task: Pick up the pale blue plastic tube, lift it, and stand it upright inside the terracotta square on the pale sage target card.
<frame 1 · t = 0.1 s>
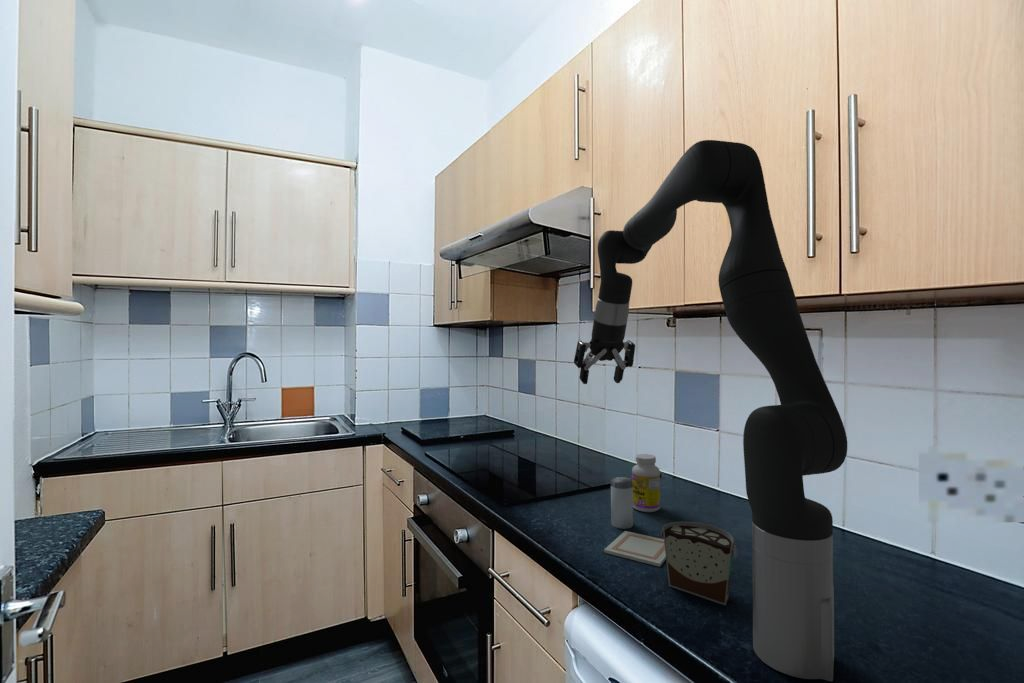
hand: (600, 382, 119), 31 cm above the counter, tool tilted 20°, fingers open, 8 cm apart
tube: (622, 524, 111), on the counter
target card: (641, 548, 98), on the counter
supplement bottle: (646, 509, 121), on the counter
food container: (703, 589, 83), on the counter
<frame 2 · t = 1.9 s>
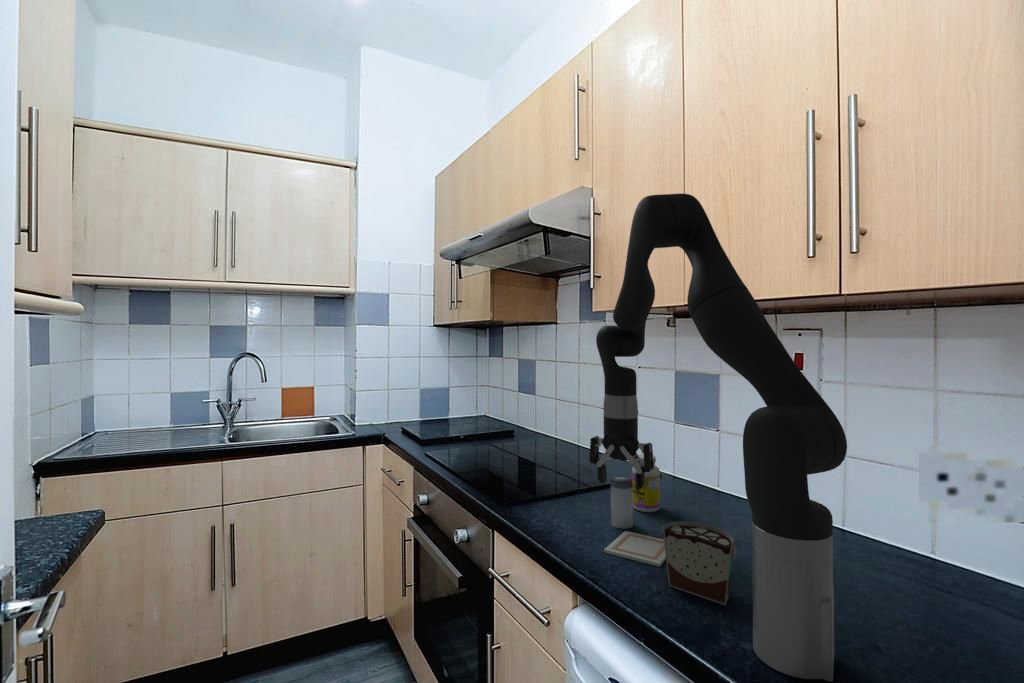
hand: (620, 486, 111), 9 cm above the counter, tool pointing down, fingers open, 8 cm apart
nothing on the counter moved.
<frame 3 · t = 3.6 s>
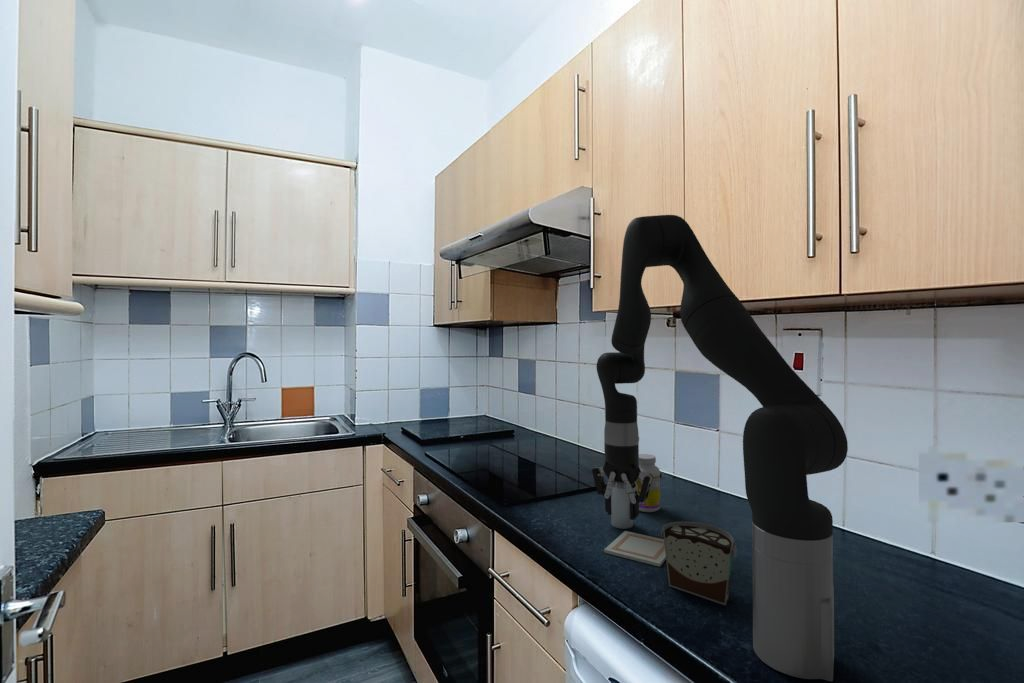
hand: (622, 516, 111), 2 cm above the counter, tool pointing down, fingers closed on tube, 4 cm apart
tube: (622, 524, 111), on the counter, touching gripper
everything else where it was.
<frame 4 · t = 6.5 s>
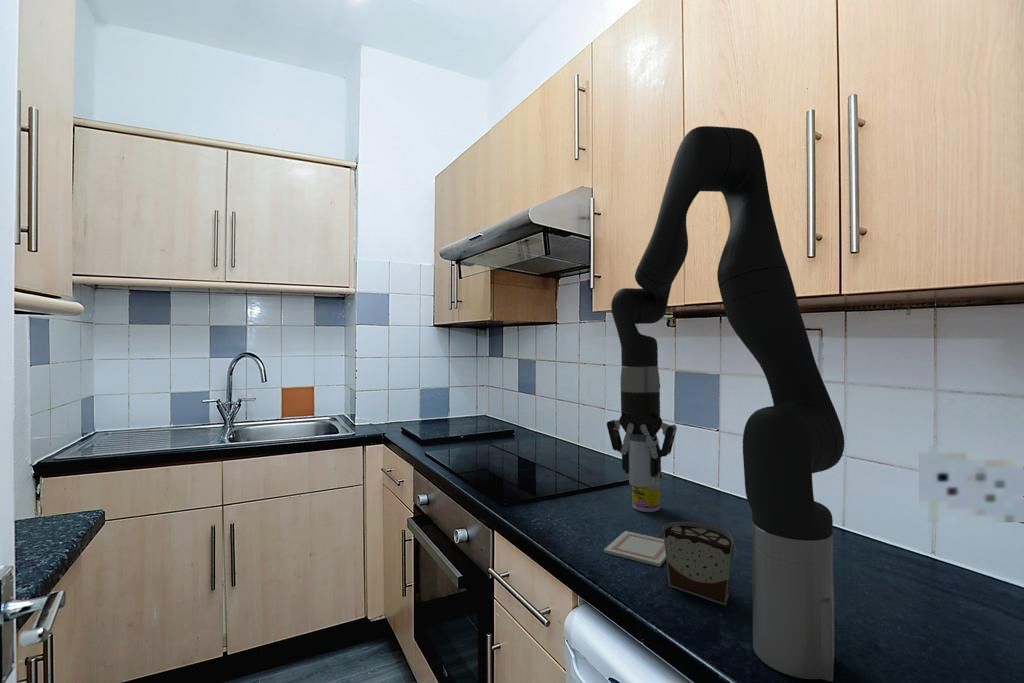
hand: (641, 474, 98), 15 cm above the counter, tool pointing down, fingers closed on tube, 4 cm apart
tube: (641, 483, 98), point 13 cm above the counter, touching gripper
everything else where it was.
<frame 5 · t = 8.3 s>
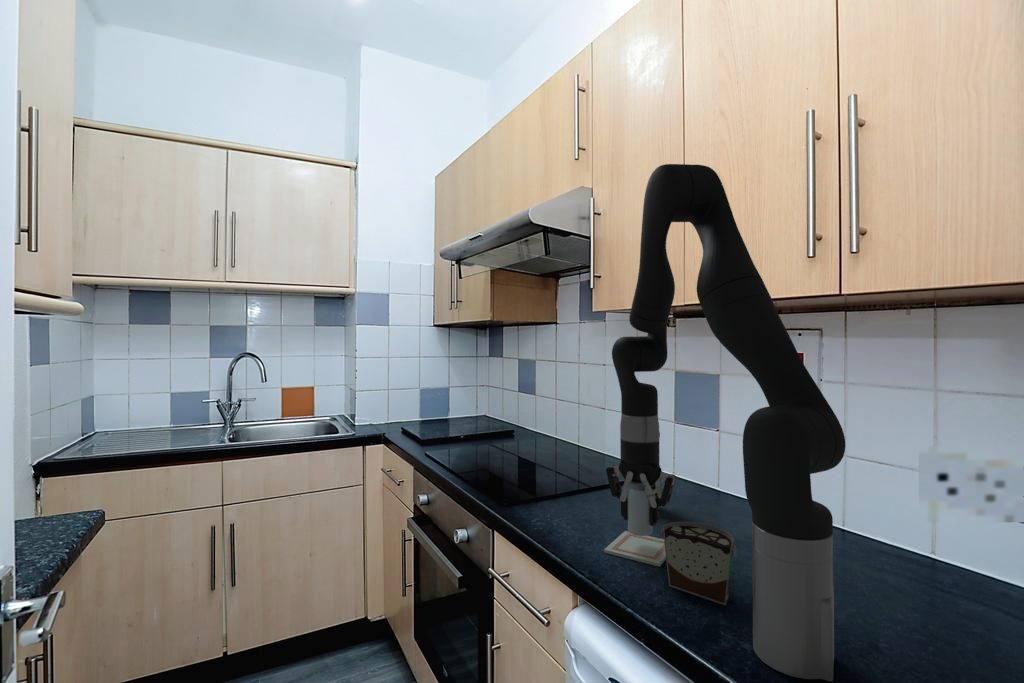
hand: (640, 521, 98), 5 cm above the counter, tool pointing down, fingers closed on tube, 4 cm apart
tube: (640, 530, 98), point 4 cm above the counter, touching gripper
everything else where it was.
when the fingers open (4 cm above the counter, at t = 9.5 s): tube drops 1 cm, resting on target card.
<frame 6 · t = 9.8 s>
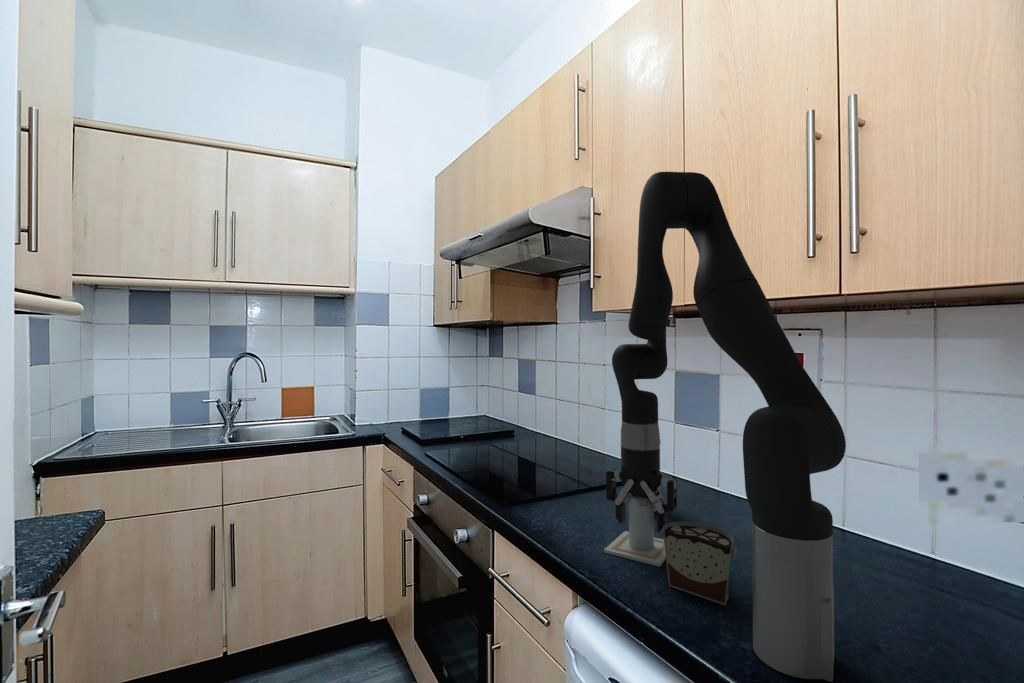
hand: (640, 526, 98), 4 cm above the counter, tool pointing down, fingers open, 7 cm apart
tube: (641, 545, 98), point 1 cm above the counter, touching target card
everything else where it was.
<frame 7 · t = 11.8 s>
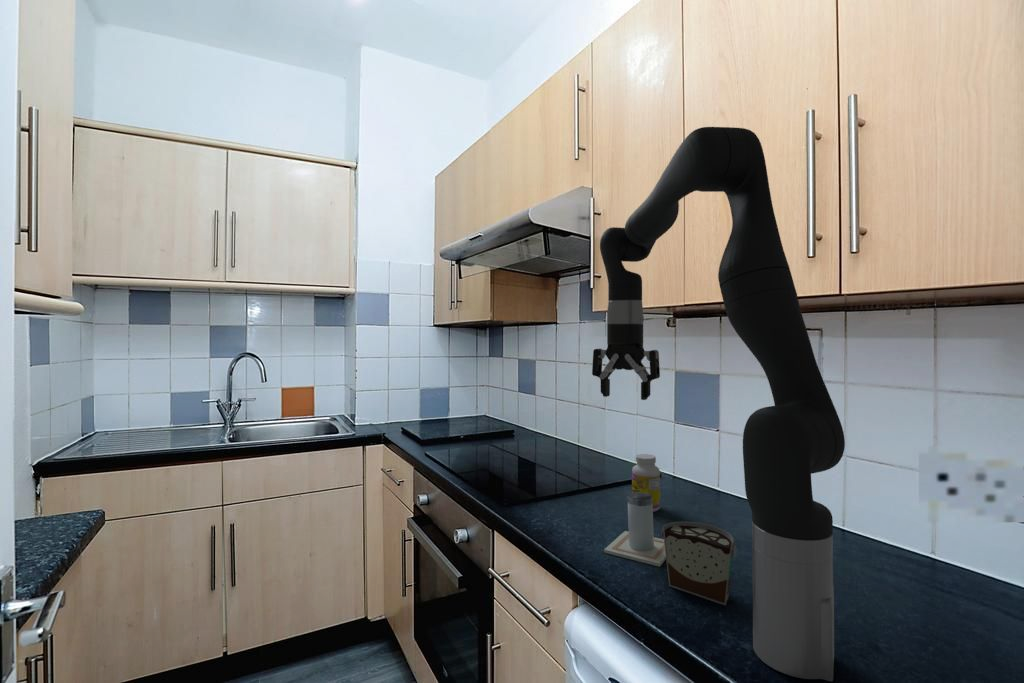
hand: (625, 397, 106), 29 cm above the counter, tool pointing down, fingers open, 8 cm apart
nothing on the counter moved.
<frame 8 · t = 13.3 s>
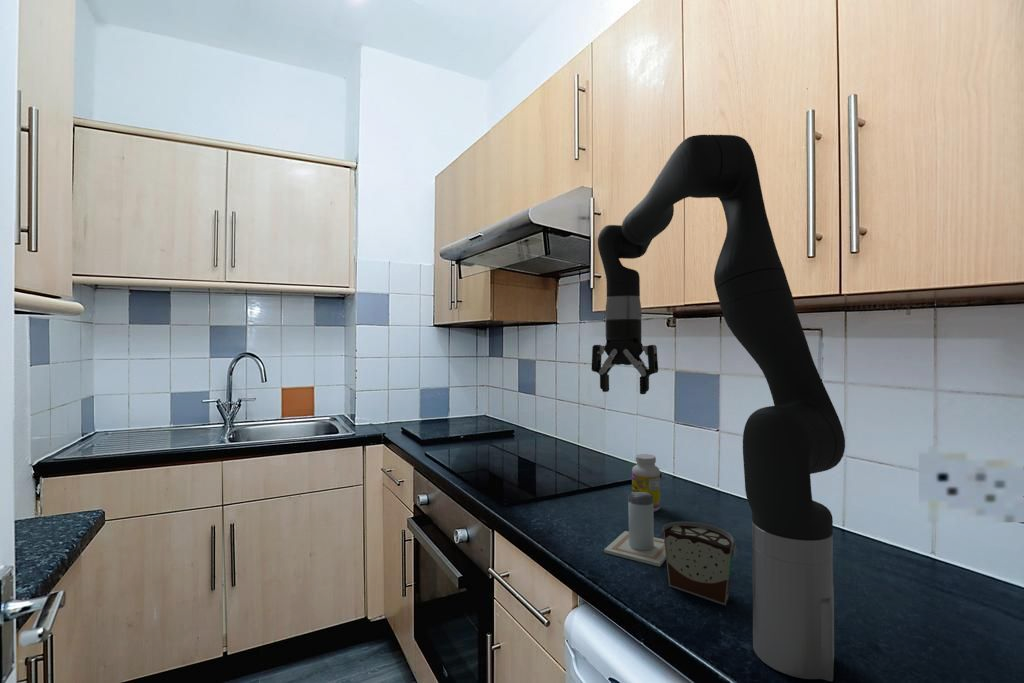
hand: (624, 392, 107), 30 cm above the counter, tool pointing down, fingers open, 8 cm apart
nothing on the counter moved.
at the end: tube 0.1 cm off-centre on the target card, point 0.7 cm above the target card's base; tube tilted 2°; the gripper is holding nothing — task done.
